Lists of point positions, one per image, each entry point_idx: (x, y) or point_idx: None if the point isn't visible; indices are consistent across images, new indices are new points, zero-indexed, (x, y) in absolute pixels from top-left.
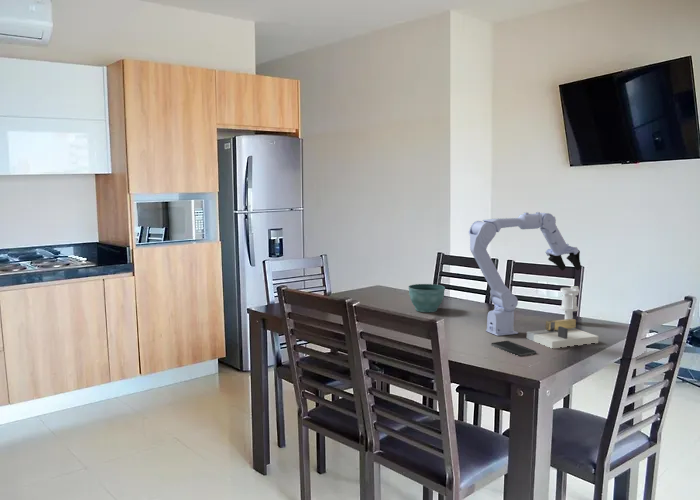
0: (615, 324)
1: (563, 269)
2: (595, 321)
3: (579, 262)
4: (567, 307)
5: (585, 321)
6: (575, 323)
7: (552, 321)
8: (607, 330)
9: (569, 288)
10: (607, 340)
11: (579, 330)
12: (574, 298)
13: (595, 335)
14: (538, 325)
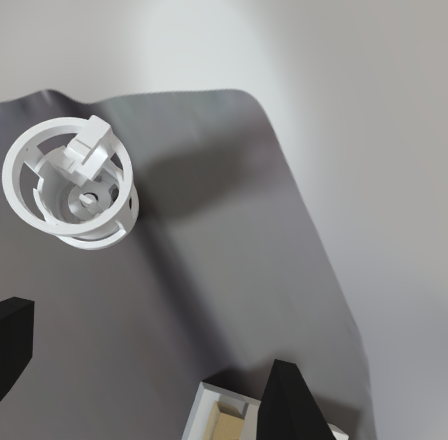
0: (240, 115)
1: (29, 349)
2: (169, 121)
3: (320, 433)
4: (99, 236)
5: (142, 148)
6: (240, 415)
7: None
8: (265, 221)
9: (45, 132)
10: (334, 359)
11: (257, 413)
12: (127, 214)
13: (336, 435)
14: (30, 369)
